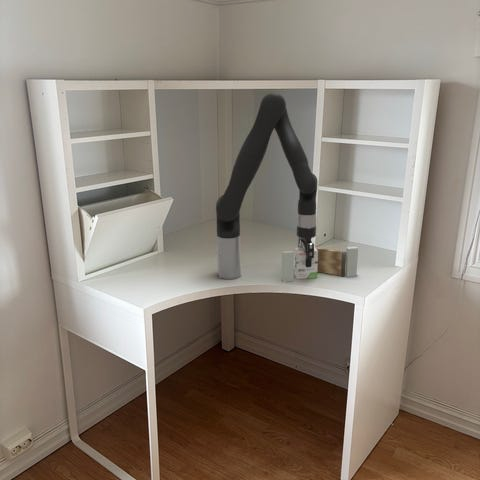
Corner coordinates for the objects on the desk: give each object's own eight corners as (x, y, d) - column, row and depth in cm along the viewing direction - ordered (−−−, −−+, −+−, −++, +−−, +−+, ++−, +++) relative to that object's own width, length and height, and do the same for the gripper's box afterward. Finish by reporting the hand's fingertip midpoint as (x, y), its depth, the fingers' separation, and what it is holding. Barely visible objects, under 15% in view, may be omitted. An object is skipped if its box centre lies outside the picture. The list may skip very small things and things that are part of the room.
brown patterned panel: (299, 268, 206) (299, 245, 203) (301, 266, 208) (302, 244, 205) (344, 276, 197) (345, 253, 194) (346, 274, 199) (347, 251, 196)
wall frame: (283, 281, 194) (283, 253, 190) (282, 279, 196) (282, 251, 192) (356, 276, 198) (358, 248, 194) (354, 274, 200) (356, 246, 196)
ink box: (314, 273, 201) (315, 246, 198) (317, 278, 197) (318, 250, 193) (294, 274, 201) (294, 247, 197) (296, 279, 196) (296, 251, 193)
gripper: (292, 220, 198) (291, 257, 203) (302, 230, 185) (301, 270, 190) (310, 219, 199) (309, 256, 204) (321, 229, 186) (319, 268, 191)
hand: (305, 263), depth 197 cm, fingers open, 8 cm apart
